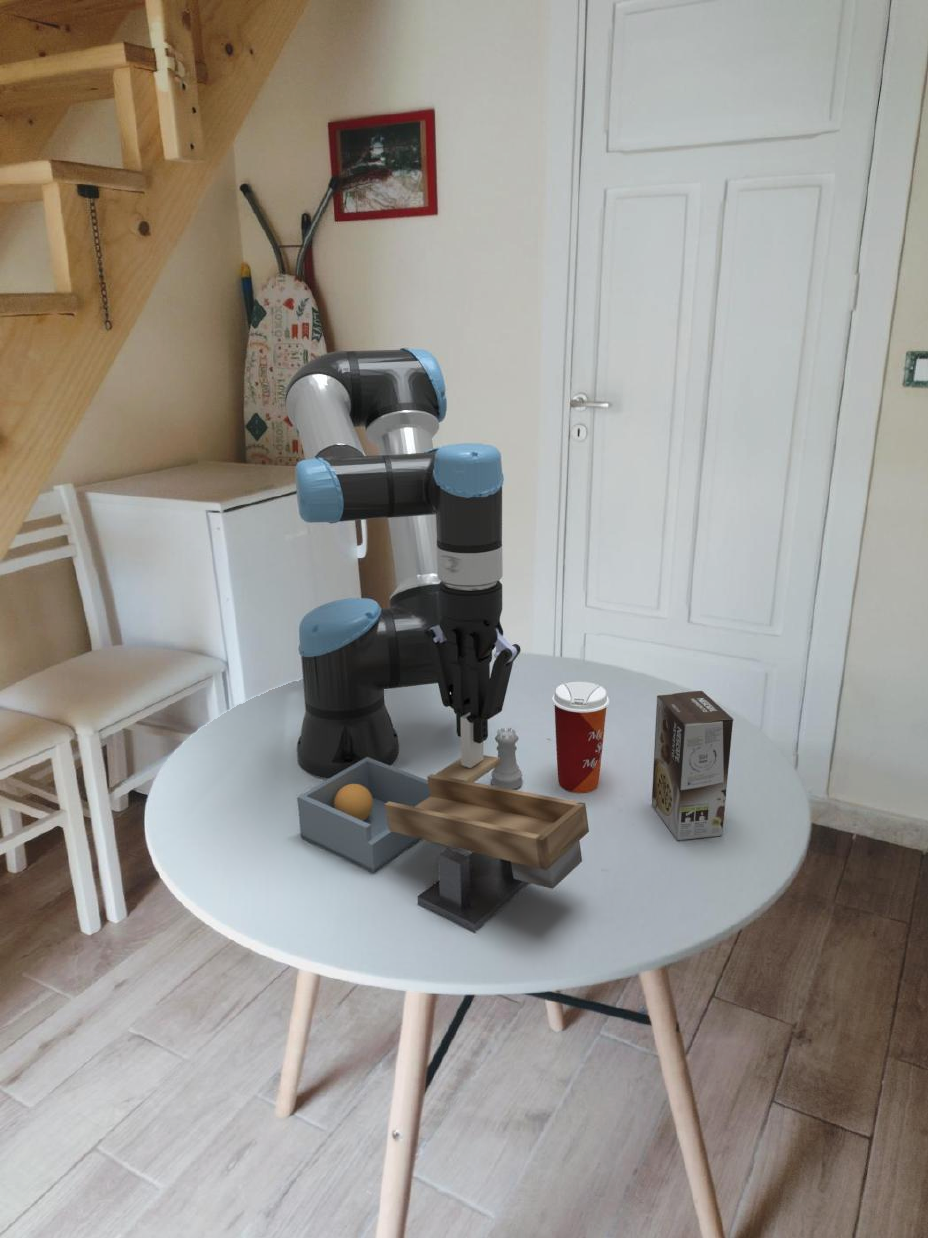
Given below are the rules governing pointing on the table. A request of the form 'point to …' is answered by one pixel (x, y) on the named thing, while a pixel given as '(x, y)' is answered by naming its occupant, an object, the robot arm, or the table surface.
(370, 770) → the bin
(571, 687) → the paper cup
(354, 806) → the ball
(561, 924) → the table surface
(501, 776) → the rook chess piece
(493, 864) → the stand
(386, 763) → the robot arm
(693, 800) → the coffee box
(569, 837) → the chute
